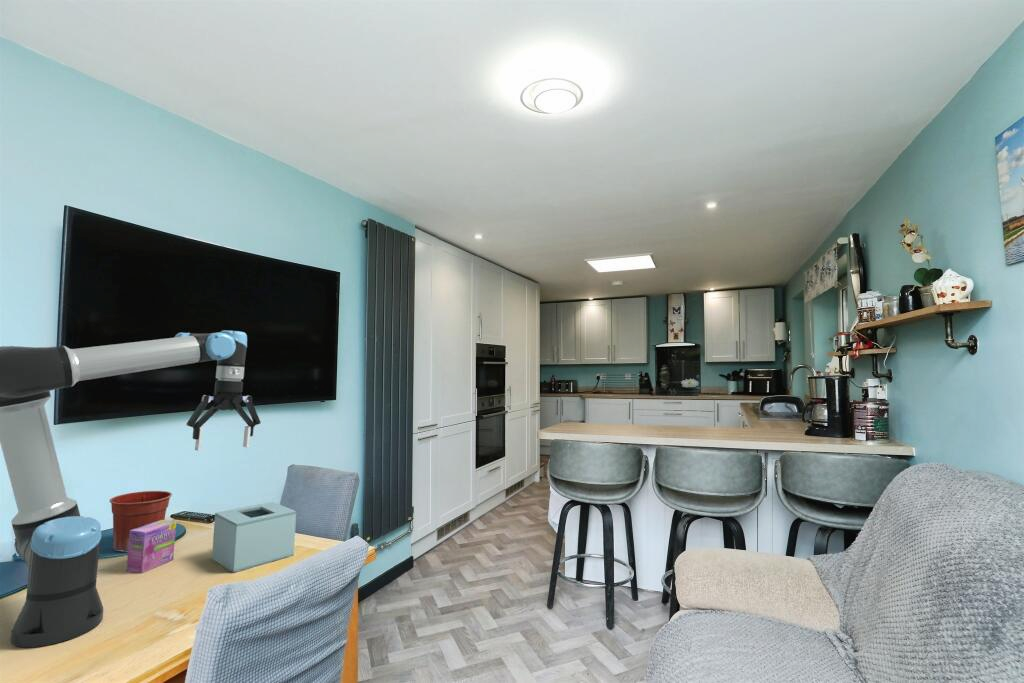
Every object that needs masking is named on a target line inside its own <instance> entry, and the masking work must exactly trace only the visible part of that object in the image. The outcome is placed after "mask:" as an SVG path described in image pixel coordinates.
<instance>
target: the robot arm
mask: <svg viewBox="0 0 1024 683" xmlns="http://www.w3.org/2000/svg"><path fill="white" fill-rule="evenodd" d="M247 348H248V335H247V333H246V332H244V331H239V330H237V331H236V330H226V329H225V330H221V331H219V332H211V333H193V332H192V333H191V332H178V333H177V334H175V336H174V337H169V338H168V337H167V338H159V339H151V340H141V341H134V342H124V343H116V344H107V345H98V346H96V345H95V346H90V347H89V346H88V347H80V348H69V347H67V346H66V345H61V346H60V345H57V346H49V347H48V346H47V347H42V346H41V347H38V346H37V347H30V346H14V345H5V346H3V345H2V346H0V447H1V451H2V454H3V459H4V461H5V462H4V463H5V465H6V470H7V473H8V477H9V482H10V485H11V488H12V493H13V497H14V500H15V503H16V508H17V513H16V514H15V516H14V517H12V519H11V521H10V523H11V526H12V530H13V533H14V548H15V552H16V554H17V555H18V556H19V557H20V558H21V559H22V560H23V562H24V563H25V564H26V566H27V567H28V573H27V574H28V575H27V586H26V595H25V596H26V597H25V602H24V604H23V606H22V608H21V610H20V612H19V615H18V616H17V619H16V620H15V622H14V625H13V627H12V629H11V633H10V634H11V635H10V644H12V645H13V646H15V647H19V648H37V647H44V646H48V645H49V646H51V645H54V644H58V643H63V642H65V641H69V640H71V639H74V638H77V637H80V636H81V635H83V634H86V633H88V632H89V631H91V630H93V629H95V628H96V627H97V626H99V625H100V624H101V622H102V621H103V619H104V606H103V604H102V603H103V602H102V600H101V597H100V594H99V591H98V588H97V577H98V567H99V555H100V546H101V545H100V544H101V540H102V531H101V529H102V528H101V527H102V526H101V522H99V521H98V520H97V519H95V518H94V517H90V516H86V517H85V516H81V513H80V509H79V506H78V502H77V501H78V500H76V499H72V498H69V497H68V496H67V492H66V488H65V484H64V480H63V479H64V478H63V476H62V473H61V467H60V463H59V460H58V456H57V452H56V448H55V444H54V440H53V435H52V432H51V431H52V430H51V428H50V423H49V419H48V415H47V411H46V406H45V405H46V403H47V402H48V401H49V400H50V399H51V397H52V395H51V391H56V390H59V389H60V390H61V389H65V388H71V387H73V386H75V385H76V383H78V382H79V381H80V382H81V381H87V380H94V379H95V380H96V379H100V378H106V377H113V376H119V375H127V374H132V373H138V372H144V371H150V370H151V371H152V370H157V369H164V368H169V367H176V366H177V367H178V366H183V365H189V364H195V363H204V362H209V361H217V363H216V371H215V379H217V380H215V383H214V392H213V396H211V395H206V394H203V395H202V396H201V398H200V399H201V400H200V403H199V404H198V406H197V407H196V409H195V410H194V412H193V413H192V415H191V416H190V418H189V419H188V420H187V423H186V426H187V427H191V428H192V429H193V430H192V440H195V445H194V450H195V451H196V452H197V451H198V452H201V450H202V444H203V443H202V442H203V434H204V428H201V427H203V425H204V424H206V422H208V421H209V419H211V418H212V417H213V416H214V415H215V413H217V412H218V411H226V410H230V411H235V412H236V413H238V416H239V417H240V418H242V420H243V421H244V422H245V423H246V425H245V426H244V430H243V431H244V432H243V442H242V447H243V448H250V440H251V437H253V435H254V428H255V427H256V426H257V425H260V424H261V423H262V422H261V420H260V417H259V415H258V412H257V410H256V408H255V405H254V403H253V396H252V395H248V394H247V395H243V387H244V382H243V381H242V380H244V377H245V365H246V364H245V363H246V355H247V354H246V353H247ZM211 401H212V403H214V404H213V405H212V406H211V407H210V408H209V409H208V410H207V411H206V412H205V413H204V414H203V412H204V411H205V409H206V407H207V406H208V404H209V403H211ZM242 401H243V402H244V403H245V405H246V408H247V410H248V412H249V415H250V416H249V415H248V414H247V413H246V411H245V410H244V408H243V407H242V405H241V403H242ZM202 414H203V415H202ZM201 415H202V416H201Z"/></svg>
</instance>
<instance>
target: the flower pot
mask: <svg viewBox="0 0 1024 683" xmlns="http://www.w3.org/2000/svg"><path fill="white" fill-rule="evenodd" d="M172 496H173V493H172V492H170V491H167V490H166V491H165V490H147V491H145V490H144V491H135V492H130V493H124V494H120V495H116V496H114V497H110V499H109V503H110V505H111V513H112V530H113V532H112V534H113V535H112V536H113V538H112V539H113V540H112V541H113V550H114V549H116V550H124V551H128V547H129V537H130V530H133V529H136V528H139V527H142V526H145V525H148V524H151V523H154V522H157V521H160V520H166V519H165V518H166V514H167V509H168V507H169V504H170V498H172Z"/></svg>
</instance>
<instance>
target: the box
mask: <svg viewBox="0 0 1024 683" xmlns="http://www.w3.org/2000/svg"><path fill="white" fill-rule="evenodd" d="M176 529H177V521H175V520H169V519H168V520H167V519H164V520H160V521H157V522H154V523H151V524H148V525H145V526H142V527H139V528H136V529H133V530H130V537H129V547H128V552H127V562H126V572H131V573H135V574H143V573H147V571H150V570H152V569H155V568H157V567H160V566H162V565H165V564H166V563H168V562H171V561H173V560H174V554H175V553H174V552H175V541H176Z"/></svg>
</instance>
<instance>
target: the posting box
mask: <svg viewBox="0 0 1024 683" xmlns="http://www.w3.org/2000/svg"><path fill="white" fill-rule="evenodd" d="M296 520H297V510H294V509H291V508H290V507H287V506H284V505H282V504H279V503H276V502H274V501H269V502H265V503H264V502H263V503H260V504H255V505H250V506H245V507H243V506H242V507H238V508H234V509H233V508H231V509H227V510H223V511H218V512H215V513H214V524H213V536H212V537H213V540H212V554H211V559H212V560H214V561H215V562H217V563H218V564H220V565H221V566H223V567H224V568H225V569H227V570H229V571H230V572H232V573H234V574H235V573H238V572H242V571H245V570H248V569H252V568H255V567H259V566H262V565H265V564H269V563H273V562H276V561H280V560H283V559H286V558H290V557H293V556H294V555H295V552H294V551H295V540H296V539H295V538H296V537H295V536H296V522H297V521H296Z"/></svg>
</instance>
